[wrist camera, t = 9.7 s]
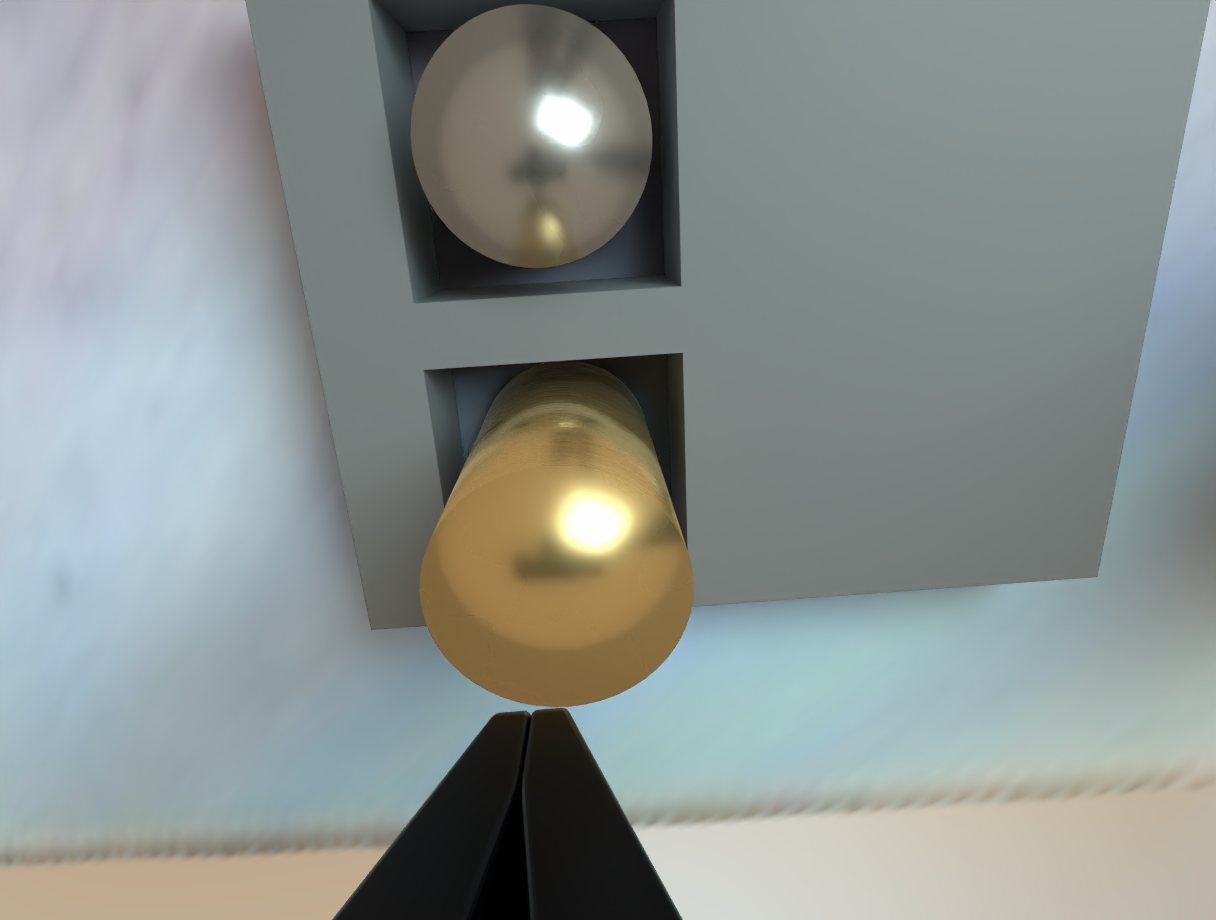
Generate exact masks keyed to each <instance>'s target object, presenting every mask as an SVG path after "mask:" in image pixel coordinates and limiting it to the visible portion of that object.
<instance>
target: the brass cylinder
mask: <svg viewBox="0 0 1216 920" xmlns="http://www.w3.org/2000/svg"><path fill="white" fill-rule="evenodd" d="M693 589H694V582H693V572H692V566H691V562H690V558H689V554H688V551H687V548H686V545H685V542H684V538H683V535H682V532H681V529H680V526H679V523H678V520H677V517H676V514H675V510H674V507H673V504H672V501H671V498H670V495H669V492H668V489H667V486H666V482H665V479H664V476H663V473H662V470H661V467H660V464H659V461H658V458H657V455H656V451H655V448H654V445H653V442H652V439H651V436H650V433H649V430H648V427H647V423H646V420H645V417H644V414H643V412H642V409H641V407H640V405H639V403H638V401H637V400H636V398H635V396H634V395H633V394H632V392H631V391H630V390H629V388H628V387H627V386H626V385H625V384H624V383H623V382H622V381H621V380H619V379H618V378H617V377H615V376H614V375H613V374H611V373H609V372H608V371H606V370H604V369H602V368H600V367H597V366H595V365H592V364H589V363H585V362H581V361H573V360H565V361H550V362H545V363H542V364H538V365H535V366H533V367H531V368H528V369H526V370H525V371H523V372H521V373H519V374H518V375H516V376H515V377H514V378H513V379H511V380H510V381H509V382H508V383H507V384H506V385H505V386H504V387H503V388H502V389H501V391H500V392H499V393H498V395H497V396H496V398H495V399H494V401H493V403H492V405H491V407H490V409H489V411H488V413H487V416H486V418H485V420H484V422H483V425H482V427H481V429H480V431H479V433H478V436H477V438H476V440H475V442H474V444H473V447H472V449H471V451H470V453H469V455H468V458H467V460H466V462H465V464H464V466H463V469H462V471H461V473H460V475H459V477H458V480H457V482H456V484H455V486H454V488H453V491H452V493H451V495H450V497H449V499H448V502H447V504H446V506H445V508H444V510H443V513H442V515H441V517H440V519H439V521H438V524H437V526H436V528H435V530H434V533H433V535H432V537H431V539H430V541H429V544H428V547H427V549H426V552H425V555H424V558H423V562H422V567H421V572H420V589H419V590H420V600H421V607H422V611H423V615H424V619H425V622H426V624H427V627H428V629H429V631H430V634H431V636H432V638H433V639H434V641H435V643H436V644H437V646H438V648H439V649H440V650H441V652H442V653H443V654H444V655H445V657H446V658H447V659H448V661H449V662H450V663H451V664H452V665H453V666H454V667H455V668H456V669H458V670H459V671H460V672H461V673H462V674H463V675H465V676H466V677H467V678H468V679H470V680H471V681H472V682H474V683H475V684H477V685H479V686H481V687H482V688H484V689H486V690H488V691H490V692H492V693H494V694H497V695H499V696H501V697H503V698H507V699H510V700H513V701H516V702H520V703H525V704H530V705H536V706H548V707H568V706H576V705H584V704H589V703H593V702H597V701H601V700H604V699H607V698H609V697H612V696H615V695H618V694H620V693H622V692H624V691H626V690H627V689H629V688H631V687H633V686H635V685H636V684H638V683H639V682H641V681H642V680H644V679H645V678H647V677H648V676H649V675H650V674H651V673H652V672H654V671H655V670H656V669H657V668H658V667H659V666H660V665H661V664H662V663H663V662H664V661H665V660H666V659H667V657H668V656H669V655H670V654H671V652H672V651H673V649H674V648H675V646H676V645H677V644H678V642H679V640H680V638H681V636H682V634H683V632H684V630H685V628H686V625H687V622H688V619H689V616H690V612H691V607H692V602H693Z"/></svg>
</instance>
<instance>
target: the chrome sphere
mask: <svg viewBox="0 0 1216 920" xmlns="http://www.w3.org/2000/svg"><path fill="white" fill-rule="evenodd" d="M411 145H412V154H413V159H414V164H415V169H416V172H417V175H418V178H419V181H420V184H421V186H422V188H423V190H424V192H425V195H426V197H427V199H428V201H429V202H430V204H431V206H432V207H433V209H434V210H435V212H436V214H437V215H438V216H439V218H440V219H441V220H442V221H443V222H444V224H445V225H446V226H447V227H448V228H449V229H450V230H451V231H452V232H453V233H454V234H455V235H456V236H457V237H458V238H459V239H460V240H461V241H463V242H464V243H465V244H467V245H468V246H469V247H471V248H472V249H474V250H476V251H477V252H479V253H481V254H483V255H484V256H486V257H489V258H491V259H494V260H496V261H498V262H501V263H505V264H509V265H512V266H518V267H526V268H547V267H554V266H560V265H564V264H567V263H571V262H574V261H576V260H578V259H581V258H583V257H585V256H587V255H589V254H591V253H592V252H594V251H596V250H597V249H599V248H600V247H602V246H603V245H604V244H605V243H607V242H608V241H609V240H610V239H612V237H613V236H614V235H615V234H616V233H617V232H618V231H619V230H620V229H621V228H622V227H623V226H624V224H625V223H626V221H627V220H628V219H629V217H630V216H631V215H632V213H633V211H634V209H635V207H636V206H637V204H638V202H639V200H640V198H641V195H642V193H643V190H644V188H645V185H646V181H647V177H648V174H649V170H650V163H651V156H652V128H651V118H650V114H649V109H648V105H647V100H646V98H645V95H644V92H643V89H642V86H641V84H640V82H639V80H638V78H637V76H636V74H635V72H634V70H633V68H632V67H631V65H630V64H629V62H628V61H627V59H626V58H625V56H624V55H623V53H622V52H621V51H620V50H619V49H618V48H617V46H616V45H615V44H614V43H613V42H612V41H611V40H610V39H609V38H608V37H607V36H606V35H605V34H603V33H602V32H601V31H600V30H599V29H597V28H596V27H594V26H593V25H591V24H590V23H589V22H587V21H586V20H584V19H582V18H580V17H578V16H576V15H574V14H572V13H569V12H567V11H563V10H560V9H557V8H554V7H549V6H543V5H537V4H518V5H511V6H504V7H500V8H497V9H493V10H490V11H487V12H485V13H483V14H481V15H479V16H476V17H474V18H472V19H471V20H469V21H468V22H466V23H465V24H463V25H462V26H460V27H459V28H458V29H456V30H455V31H454V32H453V33H452V34H451V35H450V36H449V37H448V38H447V39H446V40H445V41H444V42H443V43H442V44H441V46H440V47H439V48H438V49H437V51H436V52H435V53H434V55H433V56H432V58H431V60H430V61H429V63H428V65H427V66H426V68H425V70H424V73H423V75H422V77H421V79H420V82H419V84H418V88H417V91H416V95H415V98H414V103H413V109H412V115H411Z"/></svg>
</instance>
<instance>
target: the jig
mask: <svg viewBox="0 0 1216 920" xmlns="http://www.w3.org/2000/svg"><path fill="white" fill-rule="evenodd" d="M245 1H246V6H247V11H248V16H249V21H250V26H251V31H252V36H253V41H254V46H255V51H256V56H257V61H258V66H259V71H260V76H261V81H262V86H263V91H264V96H265V101H266V106H267V111H268V116H269V121H270V126H271V131H272V136H273V141H274V146H275V151H276V156H277V161H278V166H279V171H280V176H281V181H282V186H283V191H284V196H285V201H286V206H287V211H288V216H289V221H290V226H291V231H292V236H293V241H294V246H295V251H296V256H297V261H298V266H299V271H300V276H301V281H302V286H303V291H304V296H305V301H306V306H307V311H308V316H309V321H310V326H311V331H312V336H313V341H314V346H315V351H316V356H317V361H318V366H319V371H320V376H321V381H322V386H323V391H324V396H325V401H326V406H327V411H328V416H329V421H330V426H331V431H332V436H333V441H334V446H335V451H336V456H337V461H338V466H339V471H340V476H341V481H342V486H343V491H344V496H345V501H346V506H347V511H348V516H349V521H350V526H351V531H352V536H353V541H354V546H355V551H356V556H357V561H358V566H359V571H360V576H361V581H362V586H363V591H364V596H365V601H366V606H367V611H368V616H369V621H370V626H371V630H376V629H390V628H403V627H417V626H427V624H426V622H425V619H424V615H423V611H422V607H421V600H420V590H419V589H420V572H421V567H422V562H423V558H424V555H425V552H426V549H427V547H428V544H429V541H430V539H431V537H432V535H433V533H434V530H435V528H436V526H437V524H438V521H439V519H440V517H441V515H442V513H443V510H444V508H445V506H446V504H447V502H448V499H449V497H450V495H451V493H452V491H453V488H454V486H455V484H456V482H457V480H458V477H459V475H460V473H461V471H462V469H463V466H464V456H463V449H462V442H461V434H460V427H459V419H458V412H457V405H456V397H455V390H454V383H453V375H452V368H460V367H475V366H490V365H505V364H520V363H535V362H550V361H565V360H580V359H595V358H610V357H625V356H641V355H656V354H667V361H668V392H669V424H670V456H671V488H672V504H673V507H674V510H675V514H676V517H677V520H678V523H679V526H680V529H681V532H682V535H683V538H684V542H685V545H686V548H687V551H688V554H689V558H690V562H691V566H692V572H693V582H694V589H693V602H692V606H705V605H719V604H733V603H747V602H760V601H774V600H788V599H802V598H815V597H829V596H843V595H857V594H870V593H884V592H898V591H912V590H925V589H939V588H953V587H966V586H980V585H994V584H1008V583H1021V582H1035V581H1049V580H1063V579H1076V578H1090V577H1097V575H1098V570H1099V565H1100V560H1101V555H1102V550H1103V545H1104V540H1105V535H1106V530H1107V525H1108V519H1109V514H1110V509H1111V504H1112V499H1113V494H1114V489H1115V484H1116V479H1117V474H1118V469H1119V464H1120V458H1121V453H1122V448H1123V443H1124V438H1125V433H1126V428H1127V423H1128V418H1129V413H1130V408H1131V402H1132V397H1133V392H1134V387H1135V382H1136V377H1137V372H1138V367H1139V362H1140V357H1141V352H1142V346H1143V341H1144V336H1145V331H1146V326H1147V321H1148V316H1149V311H1150V306H1151V301H1152V296H1153V290H1154V285H1155V280H1156V275H1157V270H1158V265H1159V260H1160V255H1161V250H1162V245H1163V240H1164V234H1165V229H1166V224H1167V219H1168V214H1169V209H1170V204H1171V199H1172V194H1173V189H1174V184H1175V179H1176V173H1177V168H1178V163H1179V158H1180V153H1181V148H1182V143H1183V138H1184V133H1185V128H1186V123H1187V117H1188V112H1189V107H1190V102H1191V97H1192V92H1193V87H1194V82H1195V77H1196V72H1197V67H1198V61H1199V56H1200V51H1201V46H1202V41H1203V36H1204V31H1205V26H1206V21H1207V16H1208V11H1209V5H1210V0H245ZM518 4H537V5H543V6H549V7H554V8H557V9H560V10H563V11H567V12H569V13H572V14H574V15H576V16H578V17H580V18H582V19H584V20H586V21H603V20H621V19H638V18H655V17H657V42H658V74H659V105H660V137H661V169H662V201H663V233H664V265H665V275H661V276H646V277H630V278H615V279H599V280H584V281H569V282H553V283H538V284H522V285H507V286H491V287H476V288H460V289H445V290H441V287H440V280H439V272H438V265H437V258H436V250H435V243H434V236H433V228H432V221H431V214H430V206H429V201H428V199H427V197H426V195H425V192H424V190H423V188H422V186H421V184H420V181H419V178H418V175H417V172H416V169H415V164H414V159H413V154H412V145H411V115H412V109H413V103H414V98H415V96H414V89H413V81H412V74H411V67H410V59H409V52H408V45H407V37H406V32H415V31H432V30H449V29H458V28H459V27H460V26H462V25H463V24H465V23H466V22H468V21H469V20H471V19H472V18H474V17H476V16H479V15H481V14H483V13H485V12H487V11H490V10H493V9H497V8H500V7H504V6H511V5H518Z"/></svg>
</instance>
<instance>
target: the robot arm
mask: <svg viewBox="0 0 1216 920" xmlns="http://www.w3.org/2000/svg"><path fill="white" fill-rule="evenodd" d="M332 920H682V918H681V916H680V914H679V912H678V910H677V908H676V907H675V905H674V903H673V901H672V899H671V898H670V896H669V894H668V892H667V890H666V888H665V887H664V885H663V883H662V881H661V879H660V878H659V876H658V874H657V872H656V870H655V868H654V866H653V865H652V863H651V861H650V859H649V857H648V855H647V854H646V852H645V850H644V848H643V846H642V844H641V843H640V841H639V839H638V837H637V835H636V834H635V832H634V830H633V828H632V826H631V824H630V823H629V821H628V819H627V817H626V815H625V813H624V812H623V810H622V808H621V806H620V804H619V802H618V801H617V799H616V797H615V795H614V793H613V791H612V790H611V788H610V786H609V784H608V782H607V781H606V779H605V777H604V775H603V773H602V771H601V770H600V768H599V766H598V764H597V762H596V760H595V759H594V757H593V755H592V753H591V751H590V749H589V748H588V746H587V744H586V742H585V740H584V738H583V737H582V735H581V733H580V731H579V729H578V727H577V726H576V724H575V722H574V720H573V718H572V717H571V715H570V713H569V712H568V710H567V709H565V708H555V709H542V710H535V711H534V712H533V713H532V715H530V714H529V712H527V711H517V712H504V713H497V714H495V715H494V716H493V717H492V718H491V719H490V720H489V721H488V723H487V724H486V725H485V726H484V728H483V729H482V730H481V731H480V733H479V734H478V735H477V737H476V738H475V739H474V740H473V742H472V743H471V744H470V745H469V747H468V748H467V749H466V751H465V752H464V753H463V754H462V756H461V757H460V758H459V759H458V761H457V762H456V763H455V765H454V766H453V767H452V768H451V770H450V771H449V772H448V773H447V775H446V776H445V777H444V778H443V780H442V781H441V782H440V784H439V785H438V786H437V787H436V789H435V790H434V791H433V792H432V794H431V795H430V796H429V798H428V799H427V800H426V801H425V803H424V804H423V805H422V806H421V808H420V809H419V810H418V812H417V813H416V814H415V815H414V817H413V818H412V819H411V820H410V822H409V823H408V824H407V825H406V827H405V828H404V829H403V831H402V832H401V833H400V834H399V836H398V837H397V838H396V839H395V841H394V842H393V843H392V845H391V846H390V847H389V848H388V850H387V851H386V852H385V854H384V855H383V856H382V857H381V859H380V860H379V861H378V862H377V864H376V865H375V866H374V868H373V869H372V870H371V871H370V872H369V874H368V875H367V876H366V878H365V879H364V880H363V881H362V883H361V884H360V885H359V887H358V888H357V889H356V890H355V892H354V893H353V894H352V895H351V897H350V898H349V899H348V900H347V902H346V903H345V904H344V906H343V907H342V908H341V909H340V911H339V912H338V913H337V914H336V916H335V917H334V918H333V919H332Z"/></svg>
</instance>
